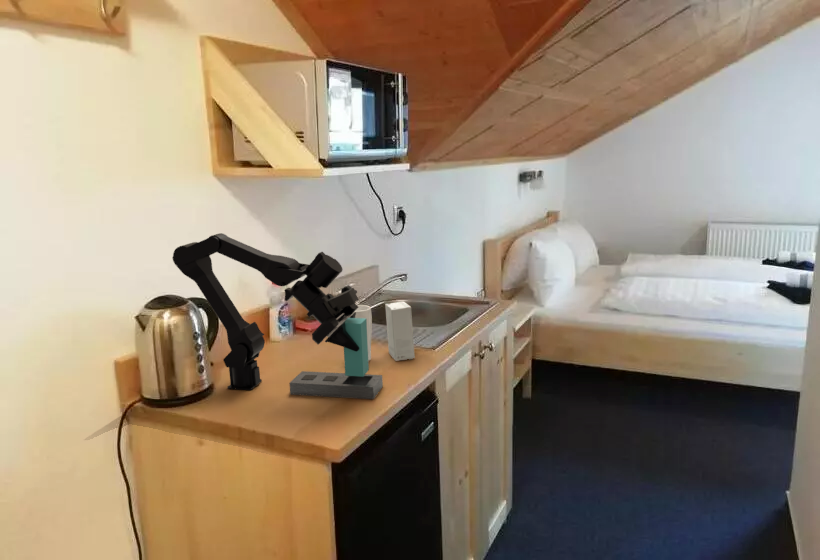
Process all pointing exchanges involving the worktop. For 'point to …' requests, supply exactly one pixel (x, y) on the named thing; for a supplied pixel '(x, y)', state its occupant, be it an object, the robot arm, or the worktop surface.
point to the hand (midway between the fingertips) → (361, 346)
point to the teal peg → (358, 360)
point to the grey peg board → (336, 385)
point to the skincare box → (400, 331)
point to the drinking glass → (365, 312)
